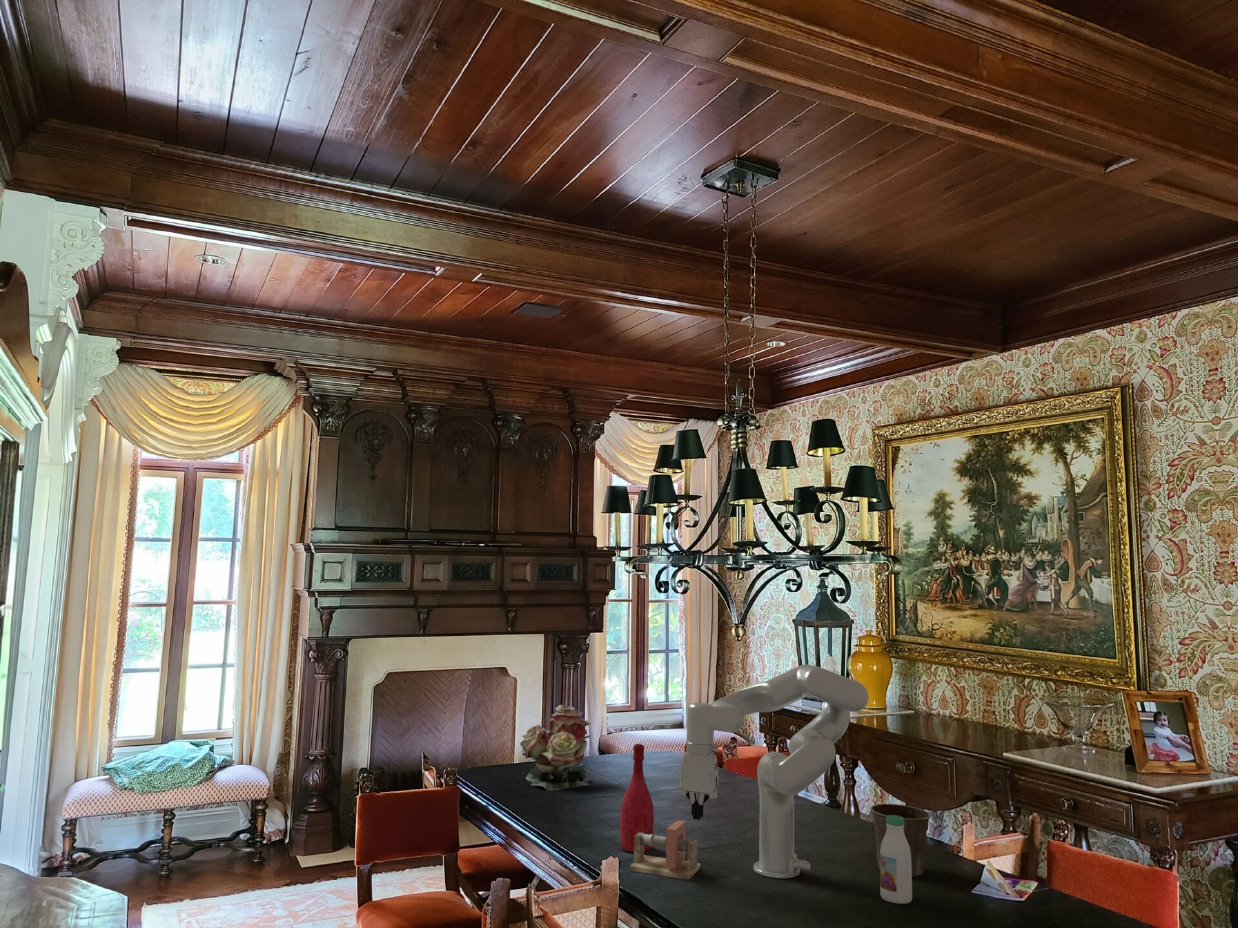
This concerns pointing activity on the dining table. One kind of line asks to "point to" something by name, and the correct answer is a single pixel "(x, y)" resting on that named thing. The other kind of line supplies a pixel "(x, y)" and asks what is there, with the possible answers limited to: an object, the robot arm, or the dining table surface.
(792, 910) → the dining table surface
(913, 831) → the plant pot
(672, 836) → the collar
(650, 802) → the wine bottle
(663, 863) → the rail stand
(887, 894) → the milk bottle
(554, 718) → the rose bouquet
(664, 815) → the dining table surface
